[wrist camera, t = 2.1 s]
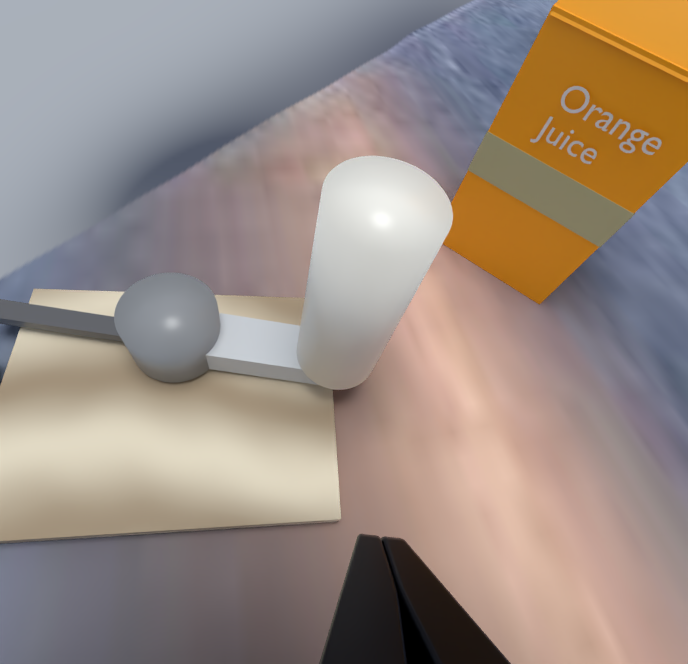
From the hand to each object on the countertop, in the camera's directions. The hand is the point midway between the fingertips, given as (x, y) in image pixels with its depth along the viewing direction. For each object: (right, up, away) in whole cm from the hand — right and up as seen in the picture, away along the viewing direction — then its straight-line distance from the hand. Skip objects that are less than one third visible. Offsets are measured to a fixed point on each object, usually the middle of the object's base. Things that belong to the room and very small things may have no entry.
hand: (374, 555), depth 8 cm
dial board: (-10, +1, +13) cm, 17 cm away
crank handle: (-9, +3, +14) cm, 17 cm away
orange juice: (+12, +11, +24) cm, 29 cm away
